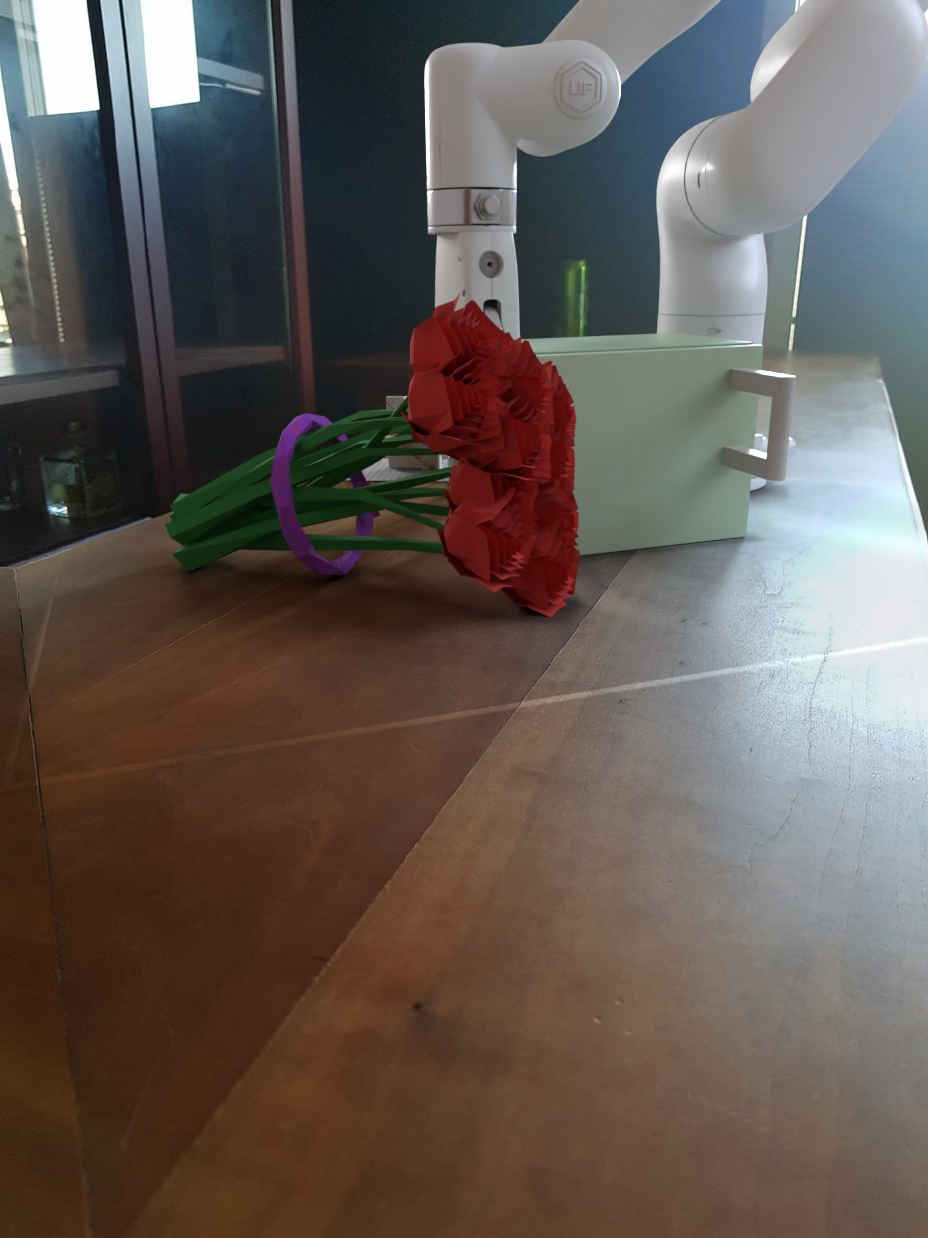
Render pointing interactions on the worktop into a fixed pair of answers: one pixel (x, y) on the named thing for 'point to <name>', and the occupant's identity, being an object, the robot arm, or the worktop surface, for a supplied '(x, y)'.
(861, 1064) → the worktop surface
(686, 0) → the robot arm
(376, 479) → the architectural model
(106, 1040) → the worktop surface
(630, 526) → the door
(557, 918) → the worktop surface
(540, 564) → the bouquet
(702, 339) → the cupboard
